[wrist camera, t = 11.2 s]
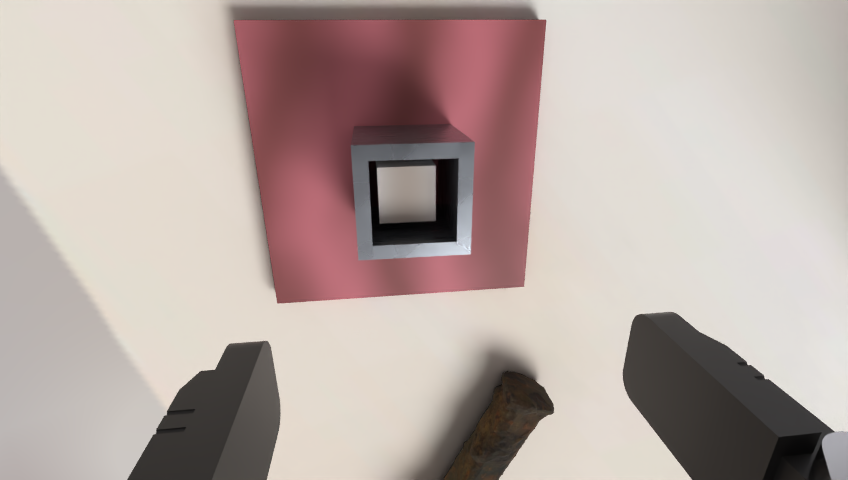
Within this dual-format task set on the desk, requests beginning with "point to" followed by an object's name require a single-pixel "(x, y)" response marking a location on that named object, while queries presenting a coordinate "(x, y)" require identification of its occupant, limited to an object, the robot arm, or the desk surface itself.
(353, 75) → the post base
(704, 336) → the robot arm
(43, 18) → the desk surface
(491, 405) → the hand tool
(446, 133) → the square socket
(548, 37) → the desk surface
